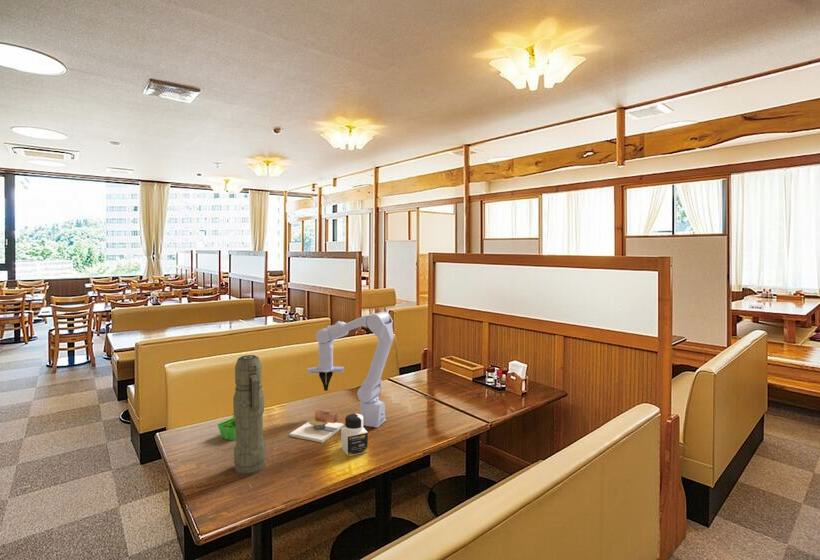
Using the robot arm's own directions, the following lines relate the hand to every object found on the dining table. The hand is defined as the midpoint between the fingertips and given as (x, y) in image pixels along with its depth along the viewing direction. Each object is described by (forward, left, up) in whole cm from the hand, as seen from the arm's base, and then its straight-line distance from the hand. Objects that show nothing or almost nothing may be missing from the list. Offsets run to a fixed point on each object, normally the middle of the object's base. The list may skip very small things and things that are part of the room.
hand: (326, 389), depth 175 cm
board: (-6, +15, -10) cm, 19 cm away
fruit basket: (+19, +29, -11) cm, 36 cm away
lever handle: (-8, +14, -7) cm, 17 cm away
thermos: (-2, +46, -11) cm, 47 cm away
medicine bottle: (-26, +23, -11) cm, 36 cm away
